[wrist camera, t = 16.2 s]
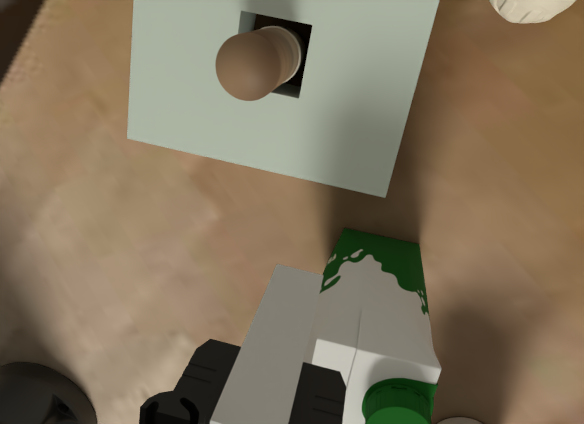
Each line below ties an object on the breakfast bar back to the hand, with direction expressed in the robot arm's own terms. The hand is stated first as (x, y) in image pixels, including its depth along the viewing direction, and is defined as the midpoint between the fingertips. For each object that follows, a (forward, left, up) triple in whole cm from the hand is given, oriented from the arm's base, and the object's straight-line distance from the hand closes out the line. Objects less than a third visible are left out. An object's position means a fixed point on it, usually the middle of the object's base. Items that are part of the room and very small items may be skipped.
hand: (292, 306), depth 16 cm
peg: (-7, +4, -30) cm, 31 cm away
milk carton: (+5, -14, -31) cm, 34 cm away
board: (-7, +4, -30) cm, 31 cm away
